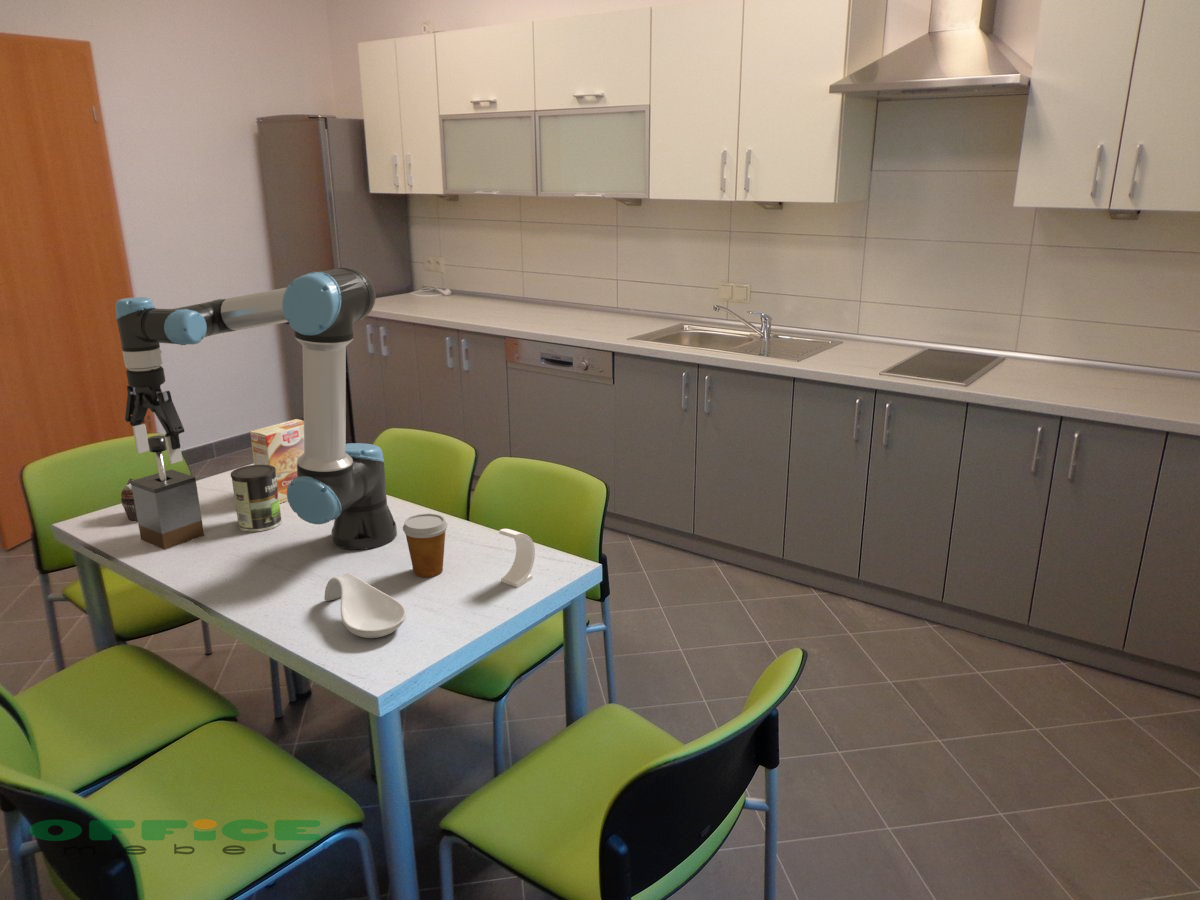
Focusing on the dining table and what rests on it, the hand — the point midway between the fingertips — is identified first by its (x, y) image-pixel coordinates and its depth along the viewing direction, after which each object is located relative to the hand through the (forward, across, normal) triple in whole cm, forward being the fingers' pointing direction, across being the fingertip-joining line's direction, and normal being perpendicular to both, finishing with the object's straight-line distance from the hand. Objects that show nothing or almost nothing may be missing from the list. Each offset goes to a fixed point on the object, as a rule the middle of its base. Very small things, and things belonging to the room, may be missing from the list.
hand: (159, 456), depth 199 cm
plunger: (+16, 0, 0) cm, 16 cm away
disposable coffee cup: (+21, -64, -21) cm, 70 cm away
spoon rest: (+21, -68, +2) cm, 71 cm away
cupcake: (+21, +19, -4) cm, 28 cm away
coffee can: (+21, -10, -17) cm, 29 cm away
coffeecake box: (+21, +1, -34) cm, 40 cm away
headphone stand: (+21, -83, -29) cm, 90 cm away
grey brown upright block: (+20, 0, 0) cm, 21 cm away
